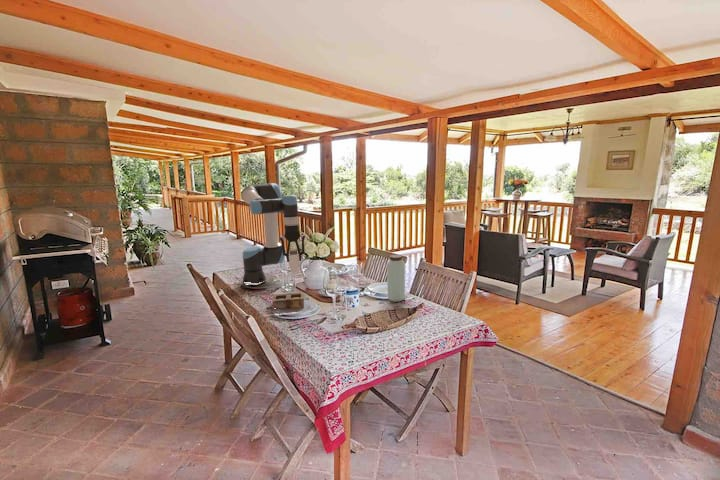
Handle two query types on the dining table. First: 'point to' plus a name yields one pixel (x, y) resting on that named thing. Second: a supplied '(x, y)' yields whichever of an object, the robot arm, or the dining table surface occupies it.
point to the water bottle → (396, 278)
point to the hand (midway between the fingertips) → (294, 267)
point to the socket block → (288, 301)
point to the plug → (294, 261)
